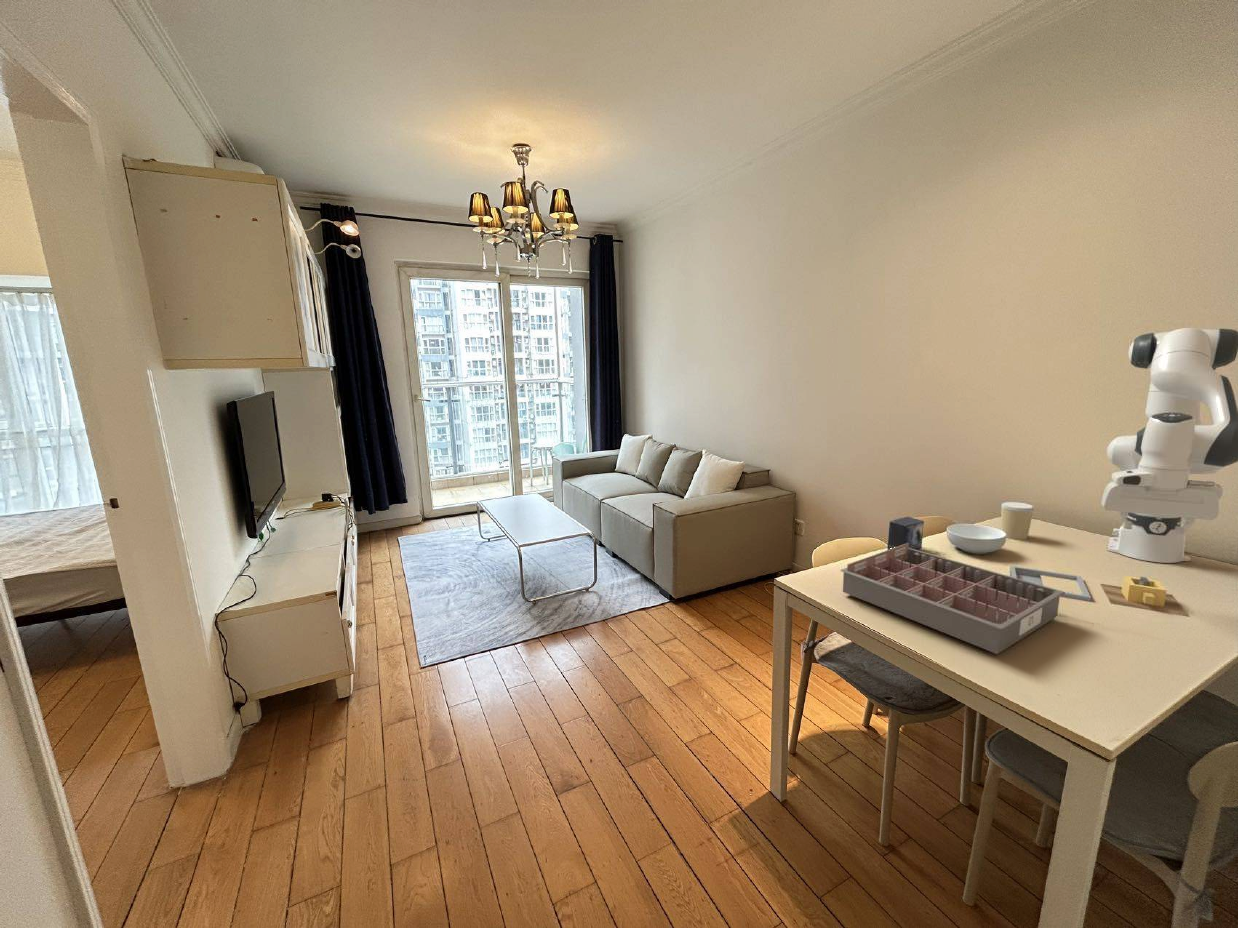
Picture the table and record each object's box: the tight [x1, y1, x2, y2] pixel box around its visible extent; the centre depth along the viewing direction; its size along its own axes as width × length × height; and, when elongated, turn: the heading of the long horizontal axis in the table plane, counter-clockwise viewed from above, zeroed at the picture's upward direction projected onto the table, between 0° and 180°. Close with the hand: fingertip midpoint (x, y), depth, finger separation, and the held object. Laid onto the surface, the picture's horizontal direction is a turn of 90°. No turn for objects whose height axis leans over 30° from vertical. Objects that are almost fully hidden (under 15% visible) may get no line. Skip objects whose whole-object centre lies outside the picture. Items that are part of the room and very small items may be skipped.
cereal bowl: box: [946, 523, 1007, 555], centre depth 172 cm, size 17×17×7 cm
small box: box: [886, 516, 925, 551], centre depth 175 cm, size 11×6×10 cm, turn 117°
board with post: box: [1099, 576, 1191, 618], centre depth 130 cm, size 14×14×7 cm
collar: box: [1121, 575, 1167, 607], centre depth 129 cm, size 10×7×4 cm
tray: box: [1009, 565, 1092, 602], centre depth 142 cm, size 16×16×2 cm
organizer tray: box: [839, 543, 1066, 655], centre depth 133 cm, size 32×40×10 cm
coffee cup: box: [1000, 501, 1035, 541], centre depth 183 cm, size 9×9×12 cm
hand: (1152, 531), depth 127 cm, fingers open, 8 cm apart
